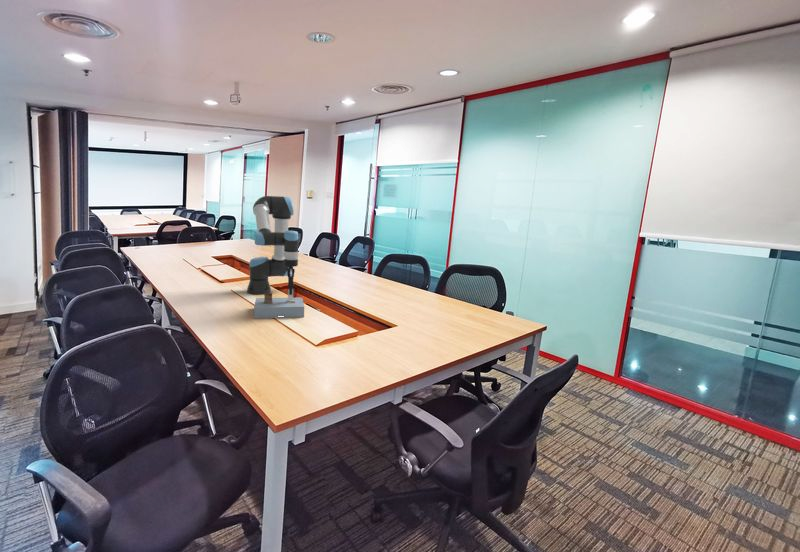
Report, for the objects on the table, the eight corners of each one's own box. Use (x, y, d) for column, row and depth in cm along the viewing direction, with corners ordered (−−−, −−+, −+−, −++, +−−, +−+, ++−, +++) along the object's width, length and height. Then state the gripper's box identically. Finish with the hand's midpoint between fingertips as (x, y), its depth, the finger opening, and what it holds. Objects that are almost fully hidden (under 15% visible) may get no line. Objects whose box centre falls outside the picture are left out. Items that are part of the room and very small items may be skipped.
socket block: (256, 308, 231) (256, 298, 229) (302, 307, 238) (302, 297, 237) (254, 318, 212) (254, 307, 211) (304, 317, 219) (304, 306, 218)
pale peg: (286, 310, 228) (286, 300, 227) (294, 310, 229) (294, 300, 228) (286, 312, 224) (286, 302, 223) (294, 312, 225) (294, 302, 224)
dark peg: (264, 303, 224) (264, 292, 222) (272, 303, 225) (272, 292, 224) (264, 305, 220) (264, 294, 219) (272, 305, 221) (272, 294, 220)
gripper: (283, 256, 226) (283, 296, 231) (284, 260, 214) (283, 302, 218) (297, 256, 228) (296, 296, 233) (298, 260, 216) (297, 302, 221)
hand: (290, 299), depth 226 cm, fingers closed
